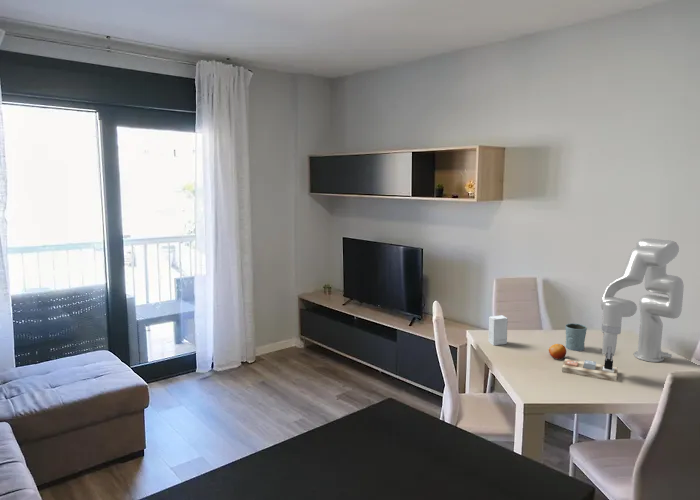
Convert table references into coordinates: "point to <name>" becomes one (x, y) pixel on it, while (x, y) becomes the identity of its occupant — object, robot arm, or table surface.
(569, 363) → the key
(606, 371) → the key
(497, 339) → the skincare box
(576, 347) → the grey-blue cup
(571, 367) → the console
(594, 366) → the key
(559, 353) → the fruit
